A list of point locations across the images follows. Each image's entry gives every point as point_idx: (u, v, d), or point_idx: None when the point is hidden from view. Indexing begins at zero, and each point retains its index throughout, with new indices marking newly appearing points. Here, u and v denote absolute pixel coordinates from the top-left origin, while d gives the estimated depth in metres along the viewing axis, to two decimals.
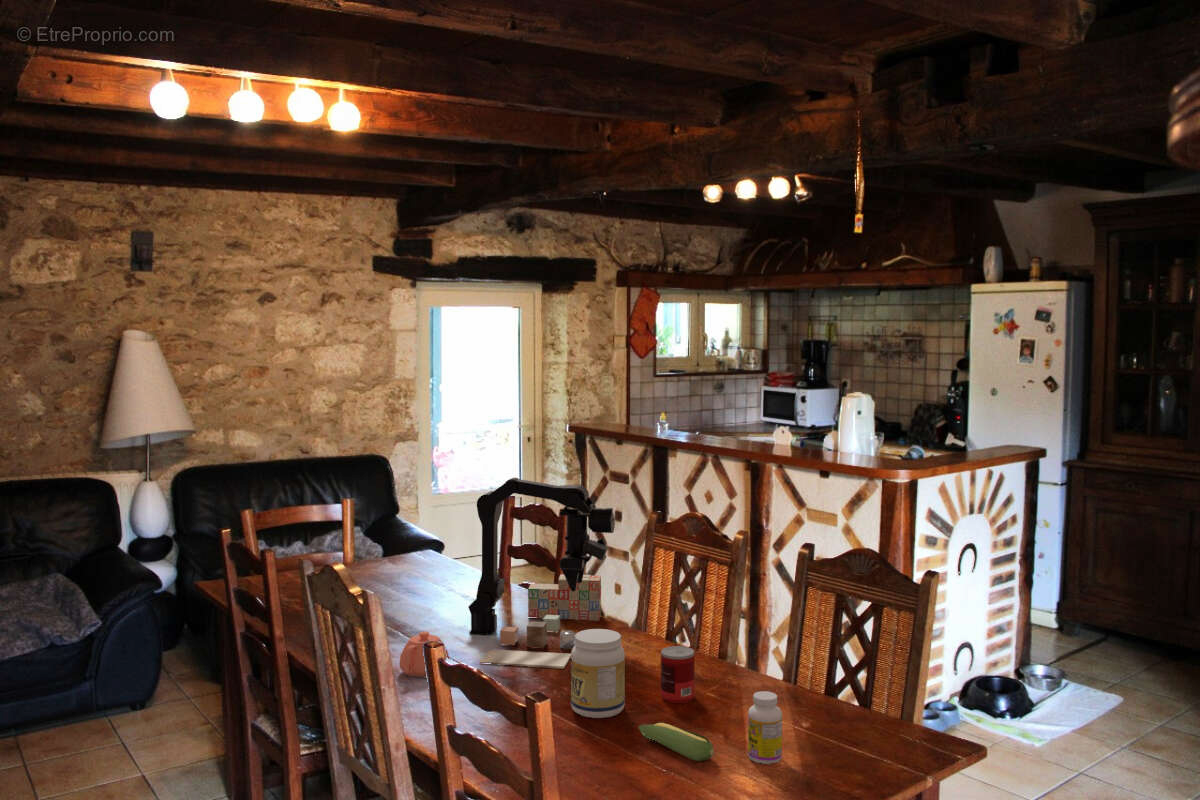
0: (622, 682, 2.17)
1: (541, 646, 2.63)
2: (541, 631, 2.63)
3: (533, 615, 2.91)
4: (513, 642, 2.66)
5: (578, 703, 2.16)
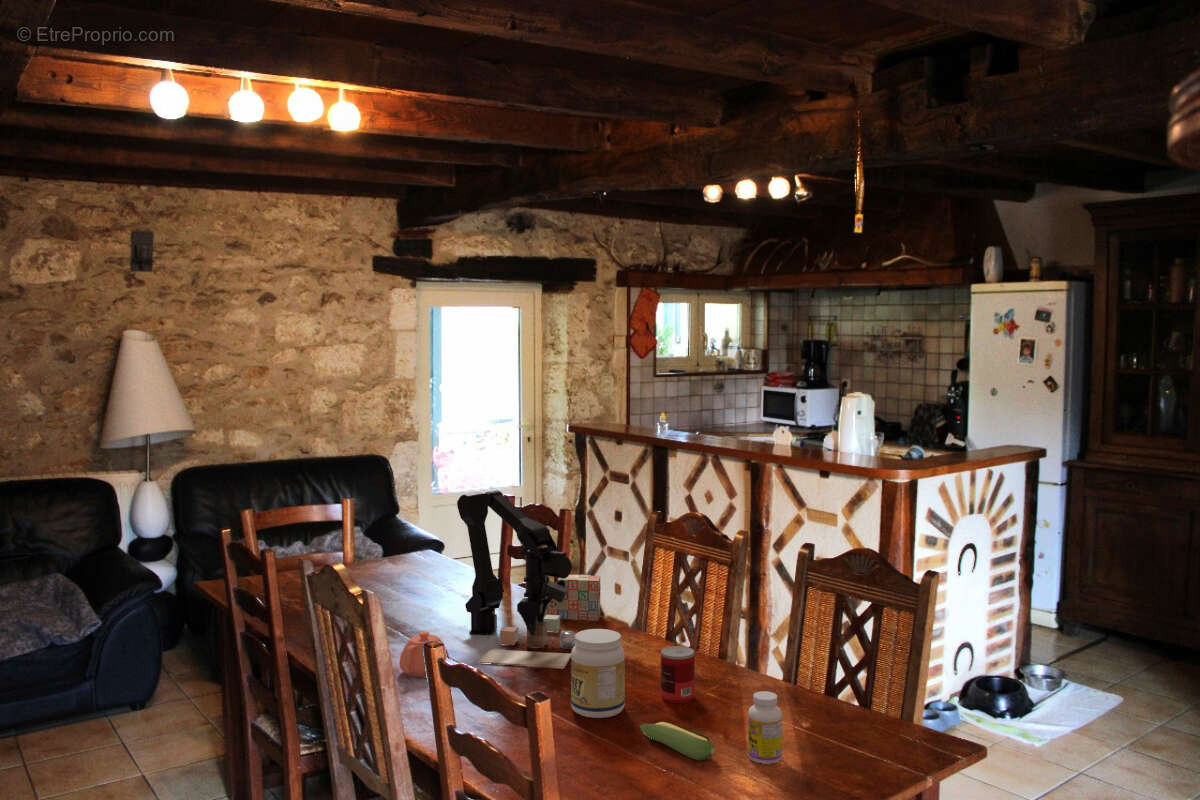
0: (622, 682, 2.17)
1: (541, 646, 2.63)
2: (541, 631, 2.63)
3: None
4: (513, 642, 2.66)
5: (578, 703, 2.16)
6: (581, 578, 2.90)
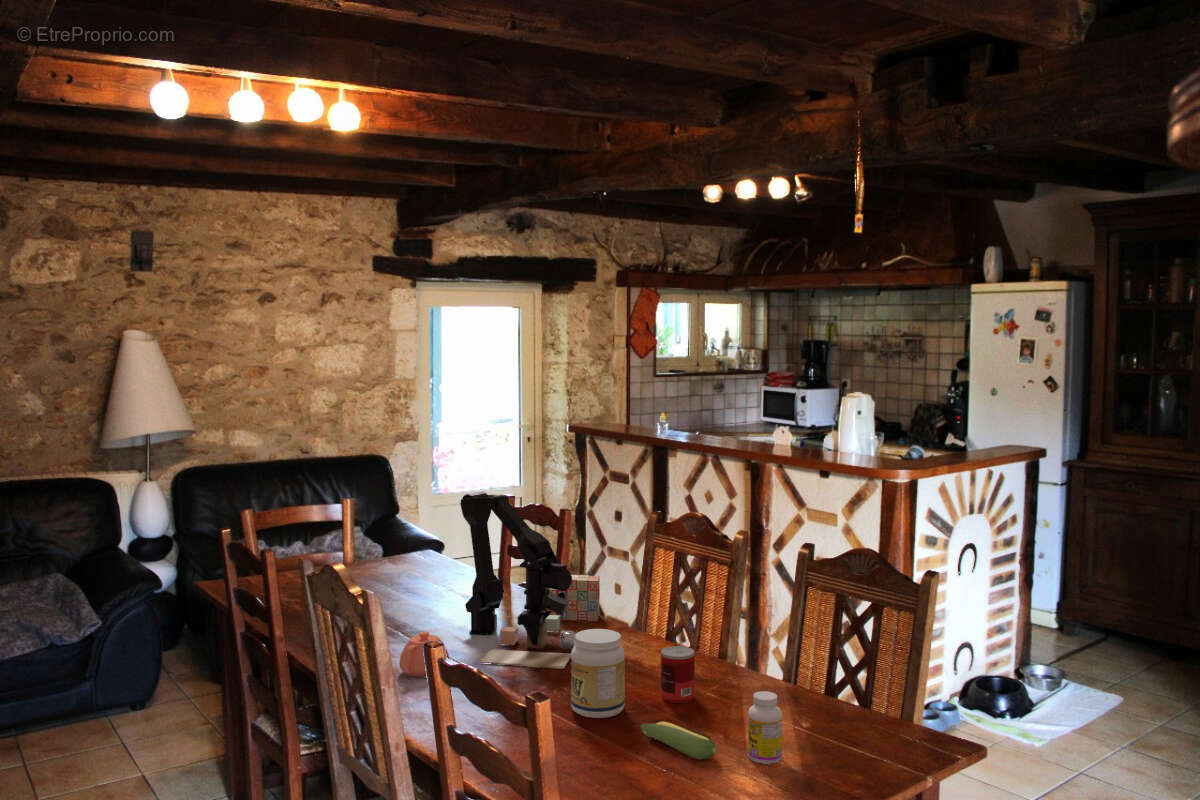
0: (622, 682, 2.17)
1: (541, 646, 2.63)
2: (541, 631, 2.63)
3: None
4: (513, 642, 2.66)
5: (578, 703, 2.16)
6: (580, 578, 2.90)
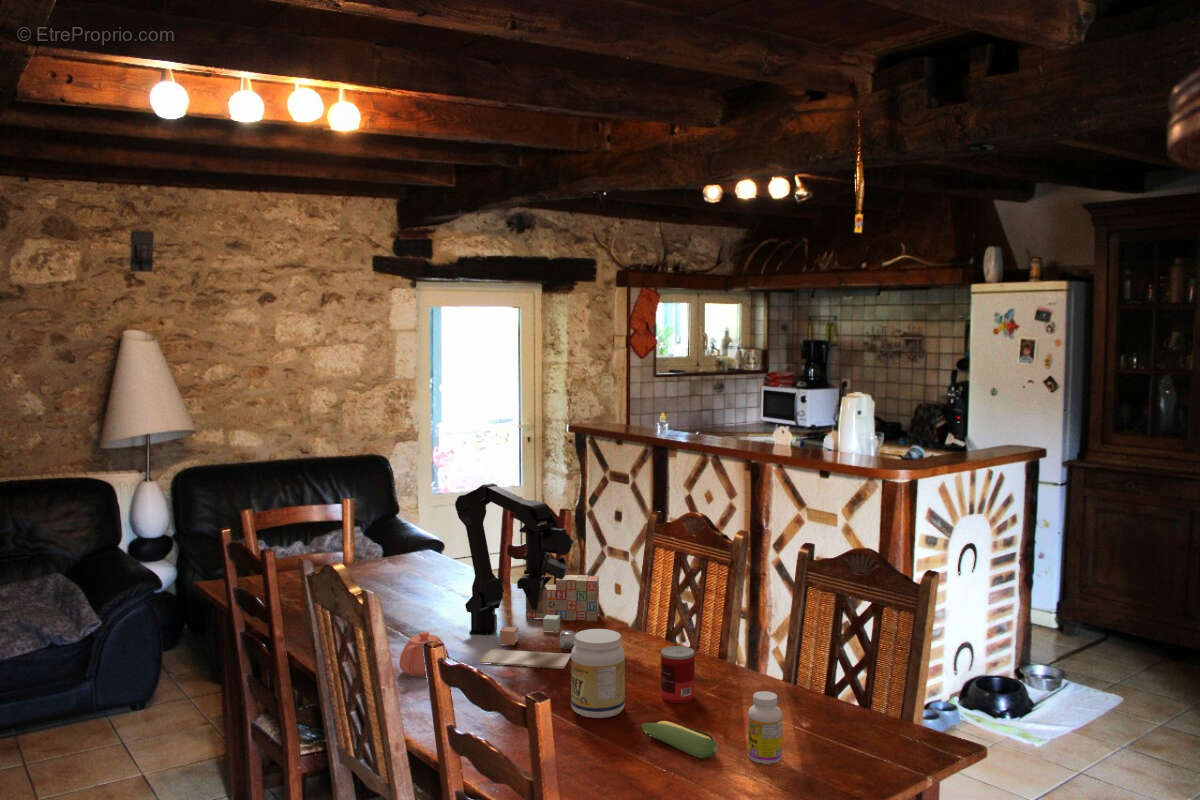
0: (622, 682, 2.17)
1: (541, 611, 2.62)
2: (541, 596, 2.62)
3: (531, 615, 2.90)
4: (513, 642, 2.66)
5: (578, 703, 2.16)
6: (579, 578, 2.90)
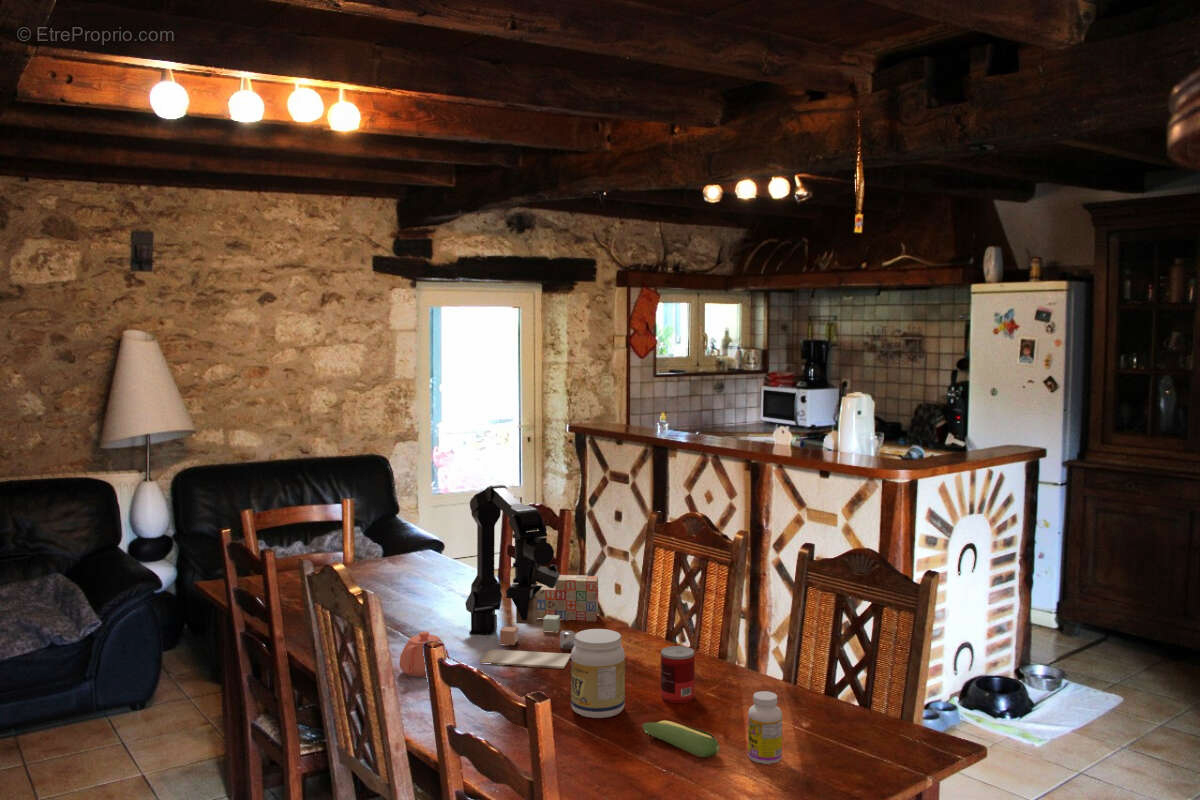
0: (622, 682, 2.17)
1: (531, 621, 2.51)
2: (531, 605, 2.50)
3: None
4: (513, 642, 2.66)
5: (578, 703, 2.16)
6: (579, 578, 2.90)
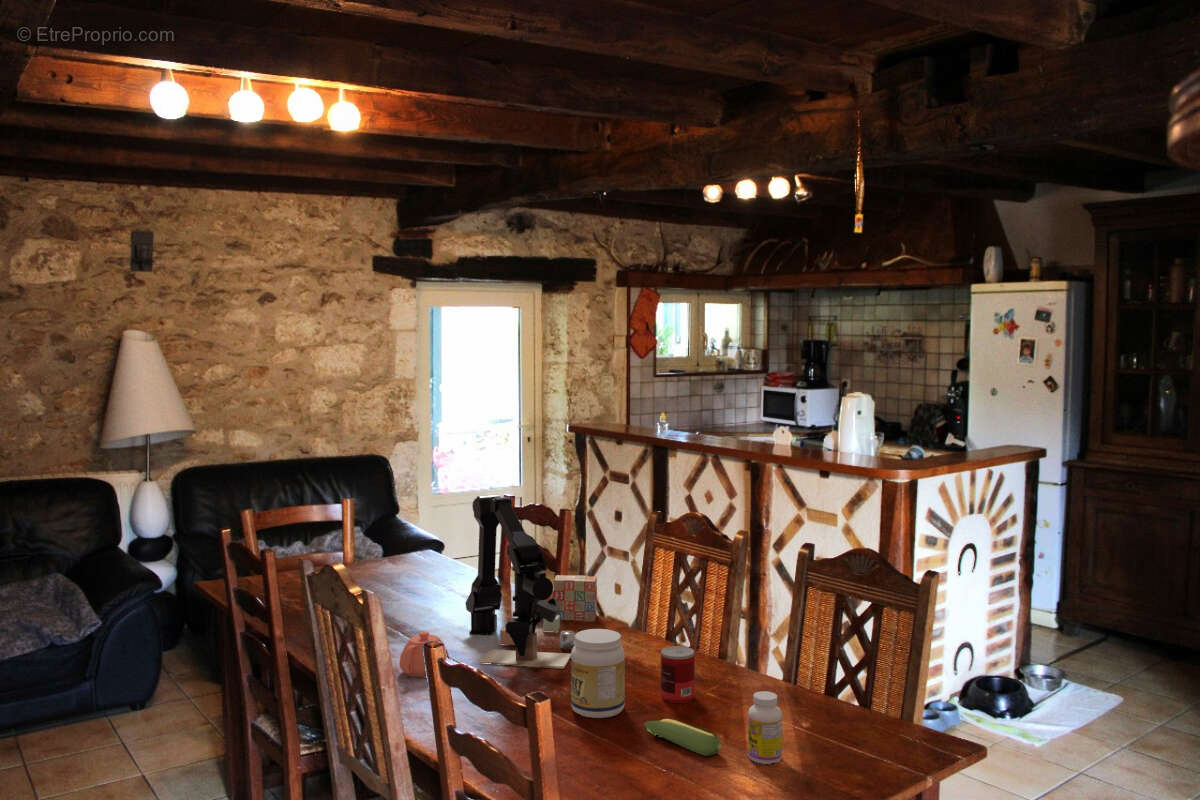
0: (622, 682, 2.17)
1: (531, 658, 2.51)
2: (530, 642, 2.51)
3: None
4: (513, 642, 2.66)
5: (578, 703, 2.16)
6: (577, 579, 2.89)
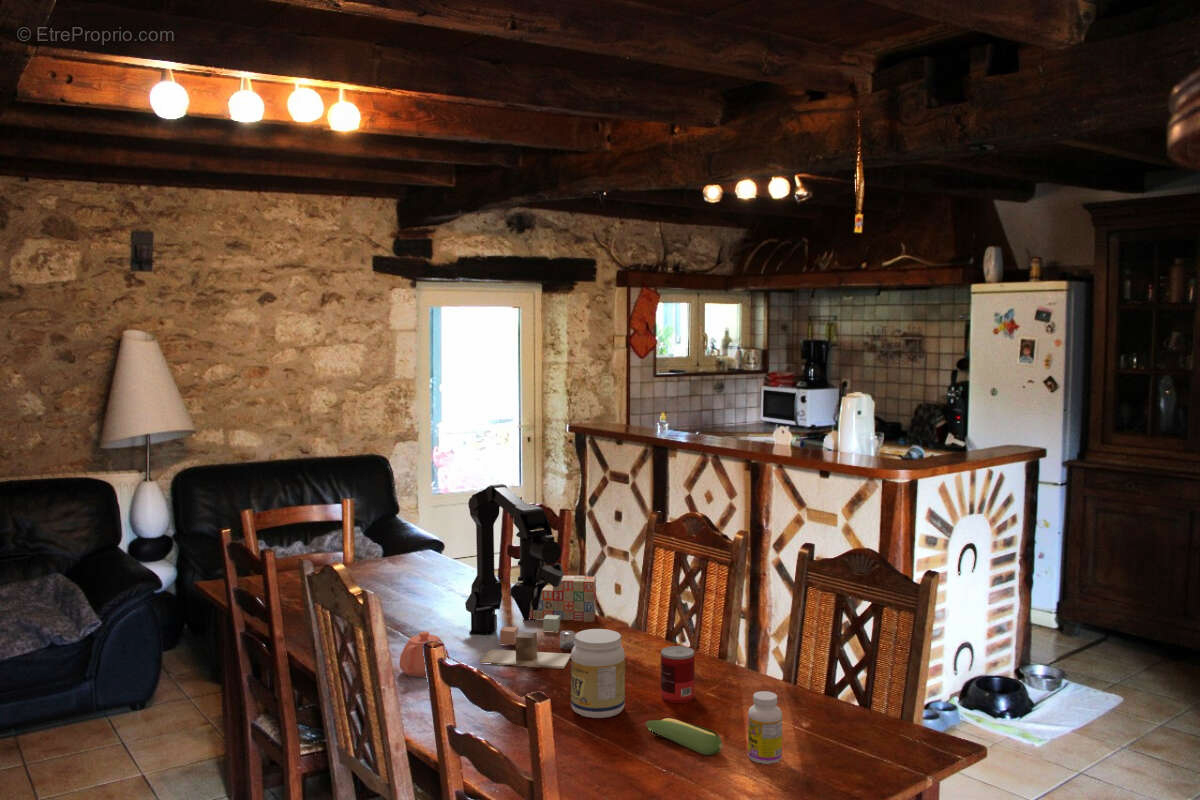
0: (622, 682, 2.17)
1: (531, 658, 2.51)
2: (530, 642, 2.51)
3: None
4: (513, 642, 2.66)
5: (578, 703, 2.16)
6: (576, 579, 2.89)
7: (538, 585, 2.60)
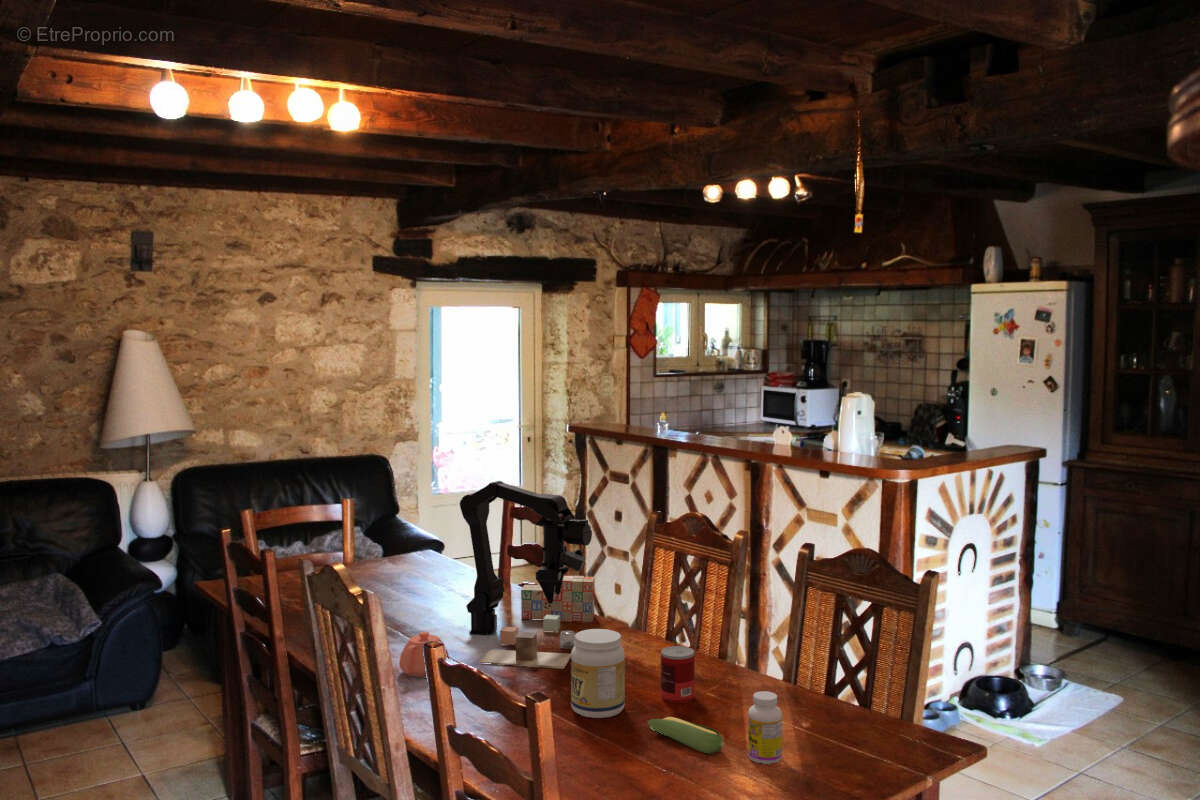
0: (622, 682, 2.17)
1: (531, 658, 2.51)
2: (530, 642, 2.51)
3: (526, 616, 2.89)
4: (513, 642, 2.66)
5: (578, 703, 2.16)
6: (575, 579, 2.89)
7: (560, 570, 2.72)
